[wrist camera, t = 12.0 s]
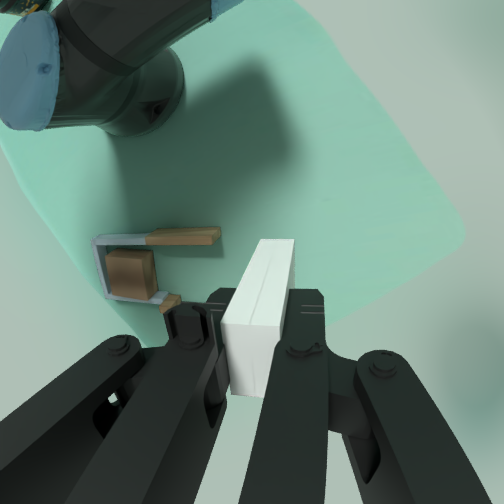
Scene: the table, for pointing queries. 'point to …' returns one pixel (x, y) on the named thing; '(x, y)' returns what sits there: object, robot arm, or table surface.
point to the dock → (99, 255)
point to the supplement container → (21, 6)
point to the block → (132, 273)
